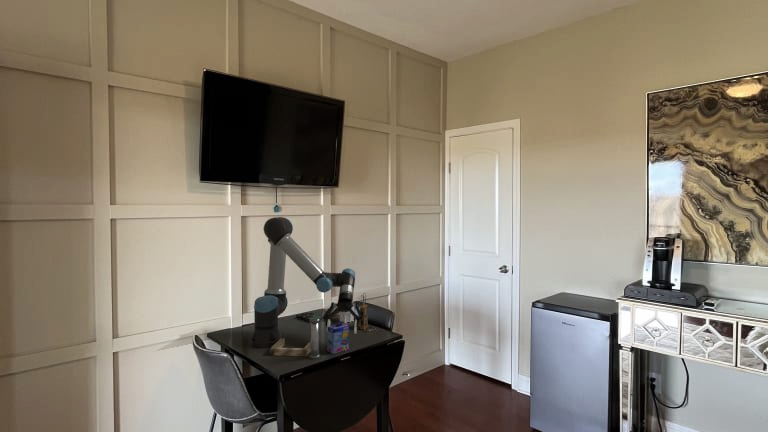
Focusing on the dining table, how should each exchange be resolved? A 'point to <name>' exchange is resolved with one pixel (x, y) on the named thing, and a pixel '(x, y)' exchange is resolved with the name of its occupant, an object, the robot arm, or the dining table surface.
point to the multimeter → (364, 315)
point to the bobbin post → (314, 338)
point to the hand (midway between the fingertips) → (341, 332)
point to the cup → (346, 316)
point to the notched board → (289, 349)
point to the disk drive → (308, 316)
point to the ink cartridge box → (337, 338)
